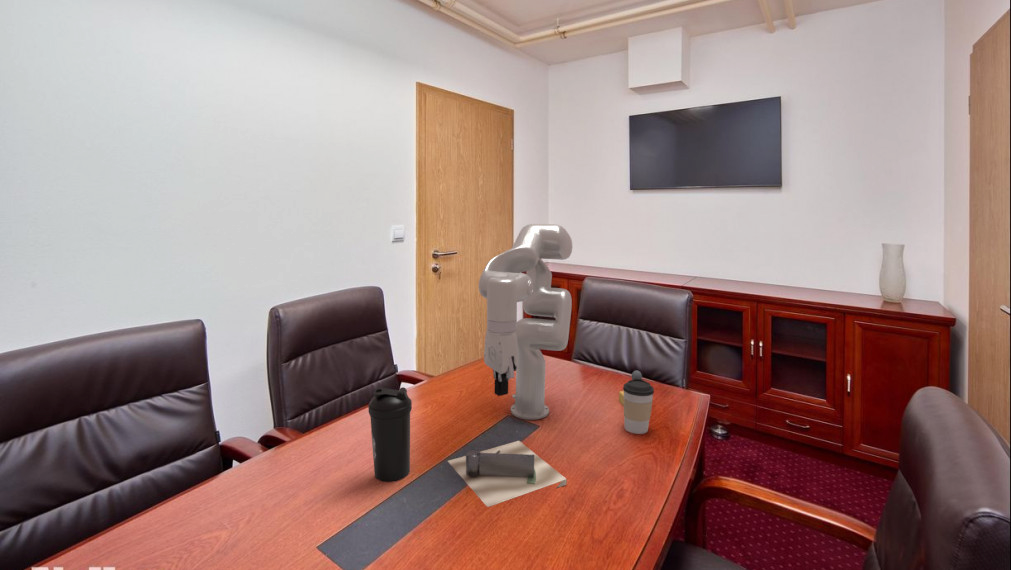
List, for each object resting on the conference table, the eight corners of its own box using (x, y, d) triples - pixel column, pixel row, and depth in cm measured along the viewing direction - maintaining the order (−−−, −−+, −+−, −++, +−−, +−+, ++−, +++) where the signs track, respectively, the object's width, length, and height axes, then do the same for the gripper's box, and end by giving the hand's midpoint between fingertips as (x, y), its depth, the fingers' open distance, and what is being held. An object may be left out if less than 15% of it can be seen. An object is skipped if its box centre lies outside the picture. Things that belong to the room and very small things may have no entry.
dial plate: (447, 466, 123) (447, 460, 123) (518, 445, 134) (518, 439, 134) (487, 513, 105) (487, 506, 104) (566, 484, 116) (566, 478, 115)
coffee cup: (652, 437, 140) (656, 389, 137) (621, 434, 142) (624, 386, 139) (649, 423, 149) (652, 378, 146) (620, 420, 150) (622, 376, 148)
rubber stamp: (625, 407, 160) (627, 374, 158) (618, 401, 166) (620, 368, 164) (652, 406, 162) (654, 372, 160) (644, 399, 168) (646, 367, 166)
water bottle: (375, 467, 122) (372, 382, 119) (415, 465, 123) (413, 382, 119) (367, 490, 112) (363, 399, 109) (410, 488, 113) (408, 398, 109)
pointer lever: (465, 476, 115) (464, 457, 114) (467, 468, 119) (466, 450, 118) (533, 479, 114) (534, 460, 113) (533, 471, 118) (534, 452, 117)
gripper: (475, 321, 124) (475, 387, 127) (503, 334, 111) (503, 407, 114) (499, 317, 128) (499, 382, 131) (530, 330, 115) (529, 401, 118)
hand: (501, 393), depth 123 cm, fingers closed
